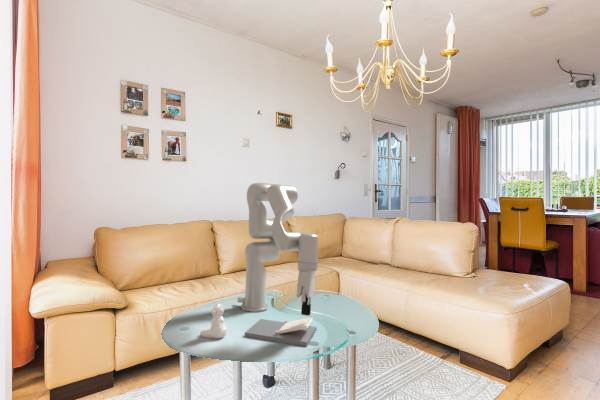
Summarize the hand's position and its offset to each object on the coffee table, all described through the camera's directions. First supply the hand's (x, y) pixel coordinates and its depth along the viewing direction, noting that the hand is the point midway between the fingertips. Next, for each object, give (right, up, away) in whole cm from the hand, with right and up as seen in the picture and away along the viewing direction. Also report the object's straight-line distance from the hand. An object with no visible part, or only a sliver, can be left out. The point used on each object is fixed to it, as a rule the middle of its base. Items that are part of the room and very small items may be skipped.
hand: (305, 314), depth 125 cm
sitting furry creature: (-33, -7, -2) cm, 34 cm away
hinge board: (-9, -8, +2) cm, 13 cm away
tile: (-4, -4, +1) cm, 6 cm away
